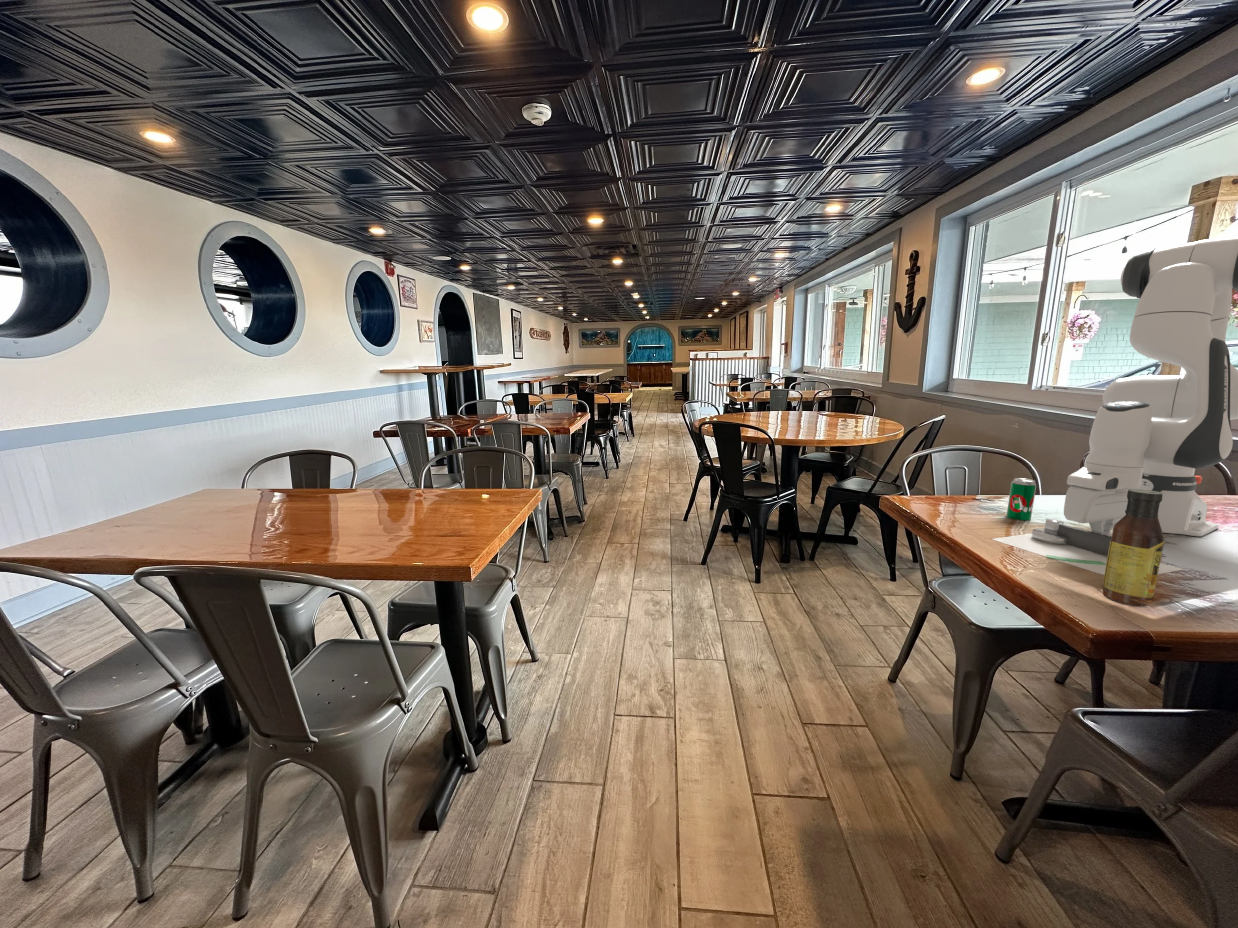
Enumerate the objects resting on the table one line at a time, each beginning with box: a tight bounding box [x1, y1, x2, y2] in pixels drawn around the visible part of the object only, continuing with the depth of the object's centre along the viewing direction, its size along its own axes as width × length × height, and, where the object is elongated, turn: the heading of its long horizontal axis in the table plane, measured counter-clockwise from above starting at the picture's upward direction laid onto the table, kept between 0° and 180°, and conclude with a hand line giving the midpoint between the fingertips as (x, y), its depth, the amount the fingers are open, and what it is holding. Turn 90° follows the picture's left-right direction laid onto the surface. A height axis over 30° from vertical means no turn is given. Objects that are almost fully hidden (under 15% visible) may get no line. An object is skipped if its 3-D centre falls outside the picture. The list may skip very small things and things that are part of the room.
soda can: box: [1005, 477, 1037, 522], centre depth 126 cm, size 5×5×12 cm
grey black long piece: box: [1031, 518, 1112, 556], centre depth 104 cm, size 16×7×4 cm, turn 16°
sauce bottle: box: [1102, 489, 1165, 607], centre depth 82 cm, size 6×6×20 cm
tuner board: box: [991, 532, 1184, 576], centre depth 102 cm, size 19×24×2 cm
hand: (1099, 537), depth 104 cm, fingers closed
